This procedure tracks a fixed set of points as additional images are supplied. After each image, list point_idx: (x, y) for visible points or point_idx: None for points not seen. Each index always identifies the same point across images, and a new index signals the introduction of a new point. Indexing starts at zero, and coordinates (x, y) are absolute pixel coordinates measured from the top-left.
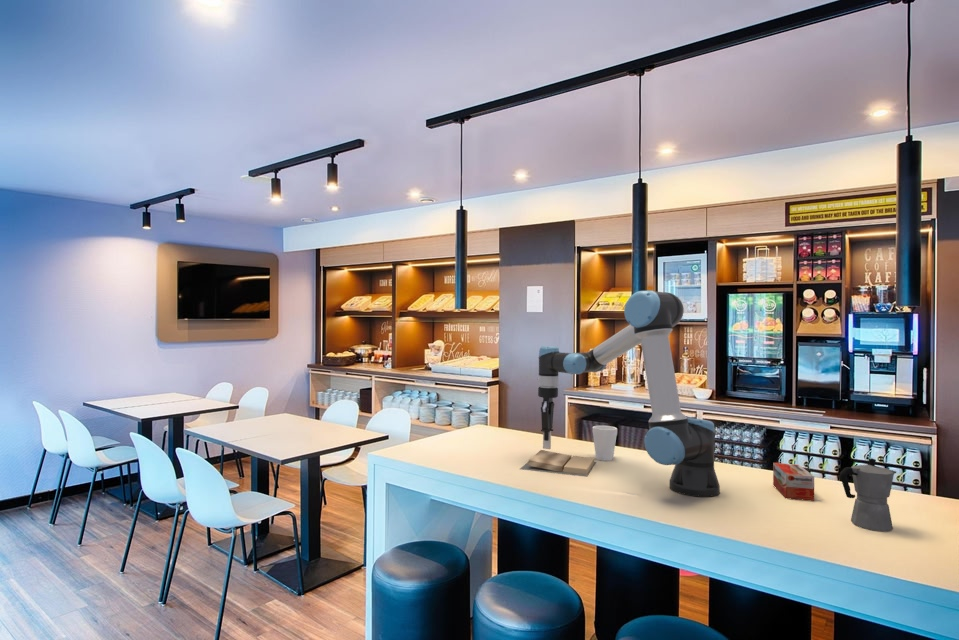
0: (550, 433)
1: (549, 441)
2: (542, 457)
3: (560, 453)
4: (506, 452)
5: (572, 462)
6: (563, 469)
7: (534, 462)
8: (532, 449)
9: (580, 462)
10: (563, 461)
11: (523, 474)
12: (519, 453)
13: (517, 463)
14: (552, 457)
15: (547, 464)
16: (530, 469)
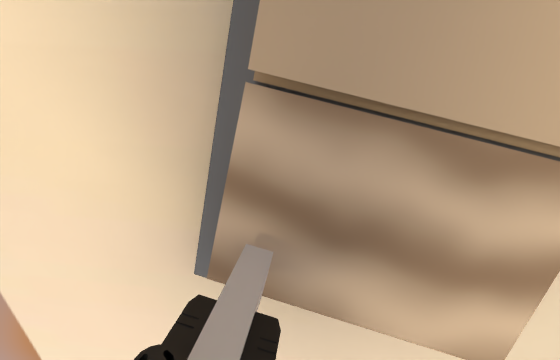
0: (224, 354)
1: (259, 295)
2: (397, 287)
3: (230, 162)
4: (135, 355)
5: (479, 86)
6: (557, 155)
7: (509, 335)
8: (40, 259)
9: (482, 13)
10: (455, 155)
11: (522, 340)
12: (132, 314)
13: (310, 340)
14: (368, 224)
15: (553, 268)
16: None
